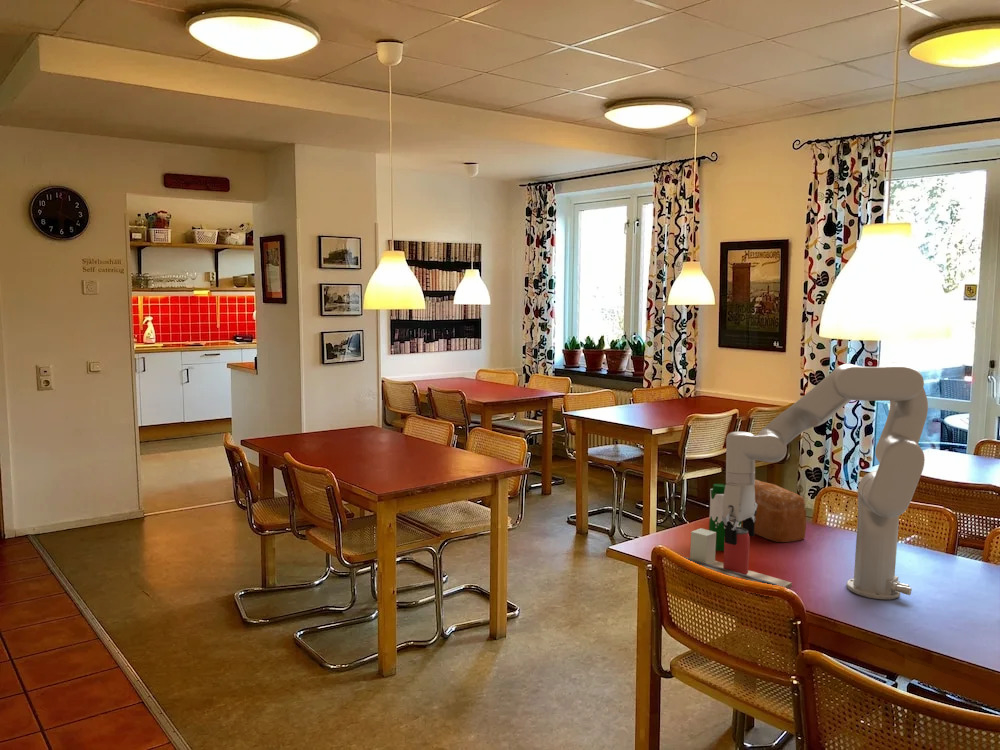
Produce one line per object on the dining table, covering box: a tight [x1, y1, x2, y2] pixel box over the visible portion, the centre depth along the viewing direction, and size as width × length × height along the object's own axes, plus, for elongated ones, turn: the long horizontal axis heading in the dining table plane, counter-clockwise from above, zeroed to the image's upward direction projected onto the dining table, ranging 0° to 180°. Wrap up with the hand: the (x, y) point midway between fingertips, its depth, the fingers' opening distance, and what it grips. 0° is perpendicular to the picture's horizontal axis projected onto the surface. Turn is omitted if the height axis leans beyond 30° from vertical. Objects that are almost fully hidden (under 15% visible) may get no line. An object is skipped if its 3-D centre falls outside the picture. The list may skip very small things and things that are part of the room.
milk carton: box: [708, 483, 742, 552], centre depth 229 cm, size 9×9×20 cm
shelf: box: [683, 556, 793, 589], centre depth 208 cm, size 28×10×3 cm, turn 44°
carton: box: [689, 527, 716, 565], centre depth 215 cm, size 5×5×9 cm
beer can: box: [722, 527, 751, 575], centre depth 208 cm, size 7×7×12 cm
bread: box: [741, 479, 807, 543], centre depth 251 cm, size 14×26×16 cm, turn 22°
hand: (739, 539), depth 208 cm, fingers open, 9 cm apart
